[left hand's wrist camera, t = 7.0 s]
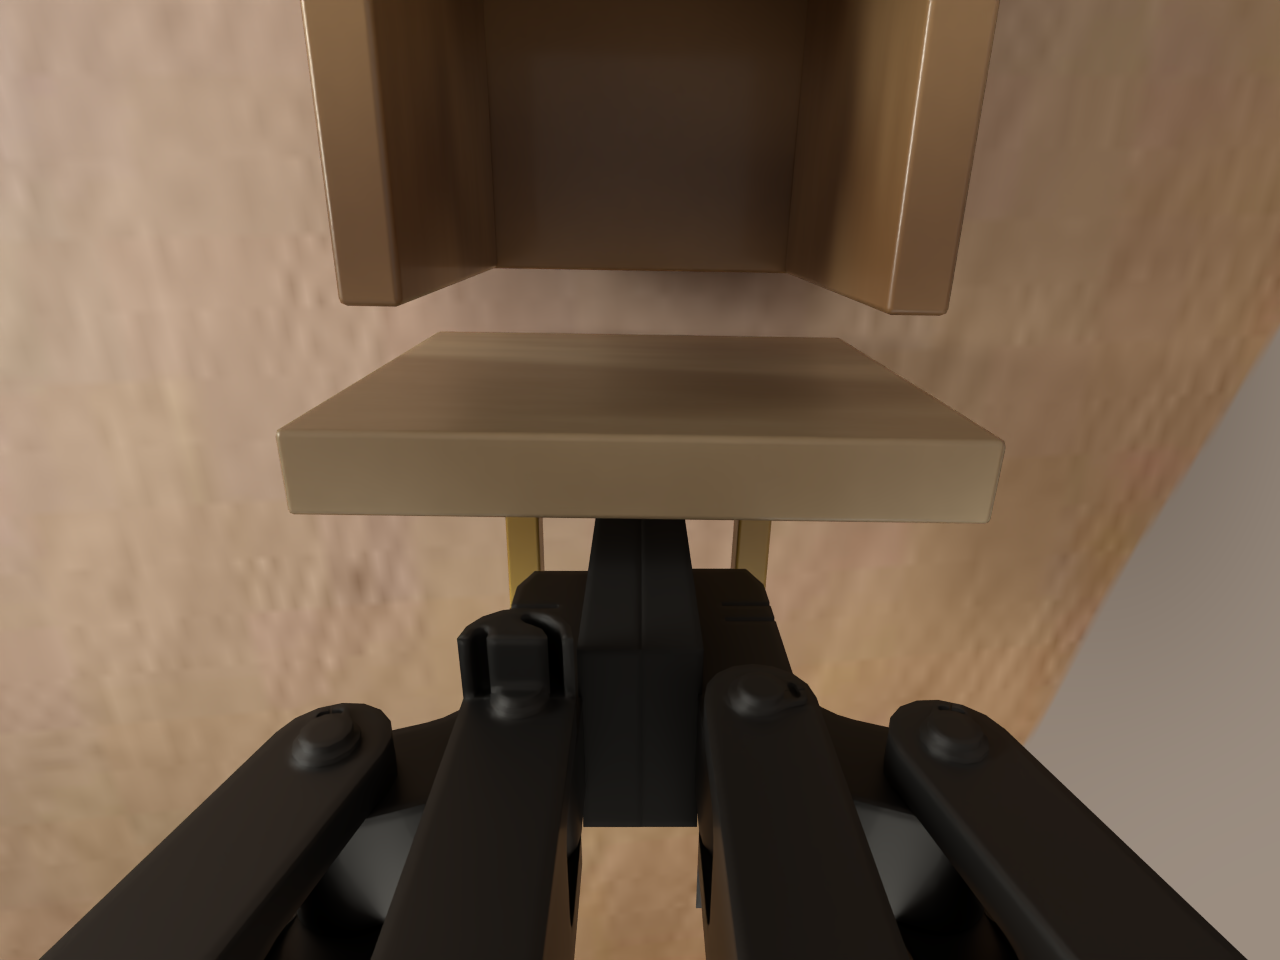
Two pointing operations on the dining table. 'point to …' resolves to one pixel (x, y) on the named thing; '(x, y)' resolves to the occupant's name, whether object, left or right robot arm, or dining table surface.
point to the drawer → (645, 256)
